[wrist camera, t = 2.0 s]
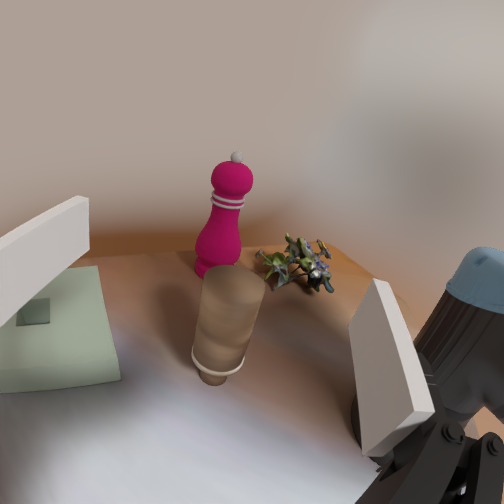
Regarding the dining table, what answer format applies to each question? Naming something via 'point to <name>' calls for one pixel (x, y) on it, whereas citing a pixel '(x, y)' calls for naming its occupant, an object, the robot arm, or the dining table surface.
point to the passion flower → (300, 264)
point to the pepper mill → (224, 215)
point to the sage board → (59, 337)
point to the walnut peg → (225, 321)
